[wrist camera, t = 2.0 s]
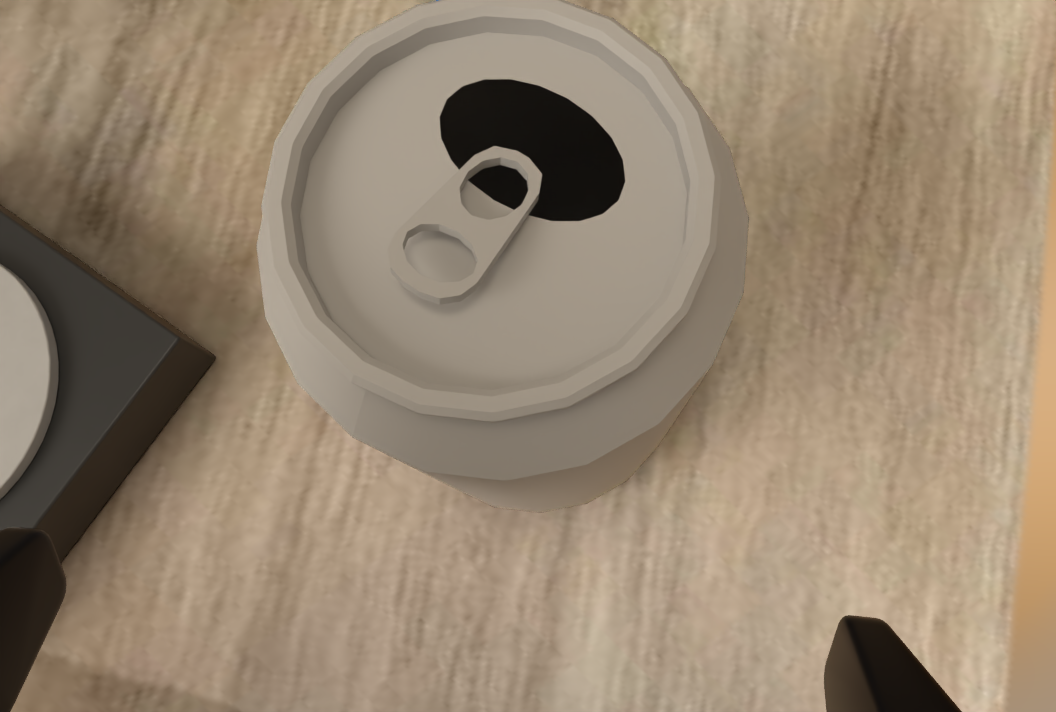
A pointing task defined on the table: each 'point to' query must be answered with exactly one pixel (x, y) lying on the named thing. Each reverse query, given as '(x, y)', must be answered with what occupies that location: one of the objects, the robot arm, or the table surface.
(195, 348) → the scale
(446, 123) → the can
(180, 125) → the table surface
